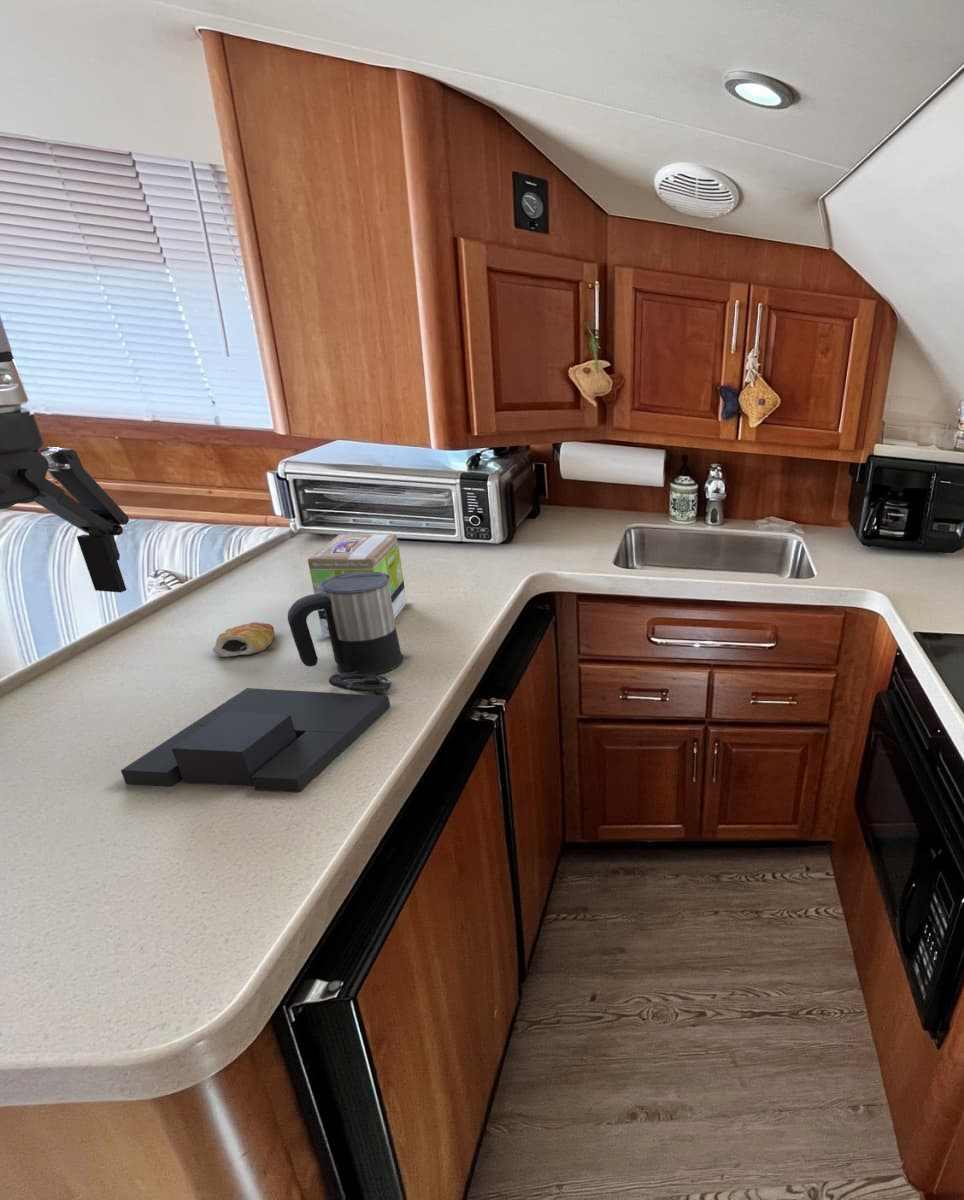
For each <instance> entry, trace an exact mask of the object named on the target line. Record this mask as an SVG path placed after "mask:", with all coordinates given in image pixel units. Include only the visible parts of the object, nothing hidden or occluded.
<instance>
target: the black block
mask: <svg viewBox="0 0 964 1200" xmlns="http://www.w3.org/2000/svg"><path fill="white" fill-rule="evenodd" d="M296 739H297V737H296V733H295V729H294V725H293V722H292V718H291V715H283V714H265V713H246V712H228V711H227V712H225V713H224V714H222V715H221V716H219V717H218V718H216V719H215V720H213V721H212V722H210V723H209V724H207V725H206V726H204V727H203V728H201V729H200V730H198V731H197V732H195V733H194V734H192V735H191V736H189V737H188V738H186V739H185V740H183V741H182V742H180V743H179V744H177V745H176V746H175V747H173V748H172V751H173V754H174V757H175V759H176V762H177V765H178V768H179V771H180V773H181V776H182V779H181V780H182V781H183V783H184V784H203V785H204V784H205V785H224V786H227V785H228V786H246V787H254V785H253V781H252V778H251V776H253V775H254V774H255V773H256V772H258V771H259V770H260V769H261V768H262V767H264V766H265V765H266V764H267V763H268V762H270V761H271V760H272V759H273V758H275V757H276V756H277V755H278V754H279V753H281V752H282V751H283V750H284V749H285V748H287V747H288V746H289V745H290V744H291V743H293V742H294V741H295V740H296Z"/></svg>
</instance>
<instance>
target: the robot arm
mask: <svg viewBox="0 0 964 1200" xmlns="http://www.w3.org/2000/svg"><path fill="white" fill-rule="evenodd" d="M13 355H14V354H13V353H12V347H11V344H10V342H9V338H8V334H7V332H6V329H5V326H4V323H3V320H2V317H1V316H0V510H4V509H8V508H11V507H13V506H15V505H17V504H31V503H36V504H38V505H39V506H41V507H43V508H44V509H46V510H47V511H49V512H51V513H52V514H54V515H55V516H57V517H59V518H61V519H62V520H64V521H65V522H67V523H69V524H71V525H72V526H74V527H75V528H77V529H79V530H80V531H82V532H84V533H86V534H81V535H78V536H76V539H77V542H78V546H79V548H80V552H81V553H82V556H83V559H84V562H85V565H86V568H87V571H88V574H89V577H90V580H91V583H92V585H93V588H94V591H96V592H106V593H107V592H109V593H123V592H126V591H127V586H126V584H125V580H124V578H123V574H122V571H121V568H120V564H119V563H118V561H120V557H121V555H120V552H119V551H120V550H119V549H118V545H117V542H116V539H115V536H121V535H122V534H123V532H124V528H123V526H125V525H128V523H129V522H130V518H129V516H128V515H127V514H126V512H124V511H123V509H121V507H120V506H119V505H118V504H117V502H115V501H114V499H112V498H111V497H110V496H109V495H108V493H107V492H106V490H104V489H103V488H102V486H101V485H100V484H99V483H98V482H97V481H96V480H95V479H94V478H93V477H92V476H91V475H90V474H89V473H88V471H86V469H85V468H84V466H83V464H82V461H81V459H80V458H79V455H78V453H77V452H76V451H75V450H74V449H71V448H64V447H63V448H60V447H51V446H44V439H43V436H42V434H41V433H42V432H41V430H40V428H39V424H38V422H37V418H36V416H35V413H34V412H33V411H31V410H30V409H28V408H26V407H22V406H24V405H26V404H27V403H29V397H28V394H27V392H26V388H25V386H24V382H23V380H22V377H21V373H20V372H19V369H18V365H17V362H16V360H15V358H14V356H13ZM39 449H40V450H39ZM48 471H49V474H51V476H52V477H54V478H55V480H56V481H57V482H58V483H59V484H60V485H61V486H62V487H63V488H64V489H65V490H66V491H67V492H68V493H69V494H70V495H71V496H72V497H71V496H70V495H68V494H66V493H65V492H66V491H65V490H64V489H63V488H61V487H60V486H58V485H57V484H55V483H54V482H52V481H51V480H49V479H47V478H46V476H47V473H48Z"/></svg>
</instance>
